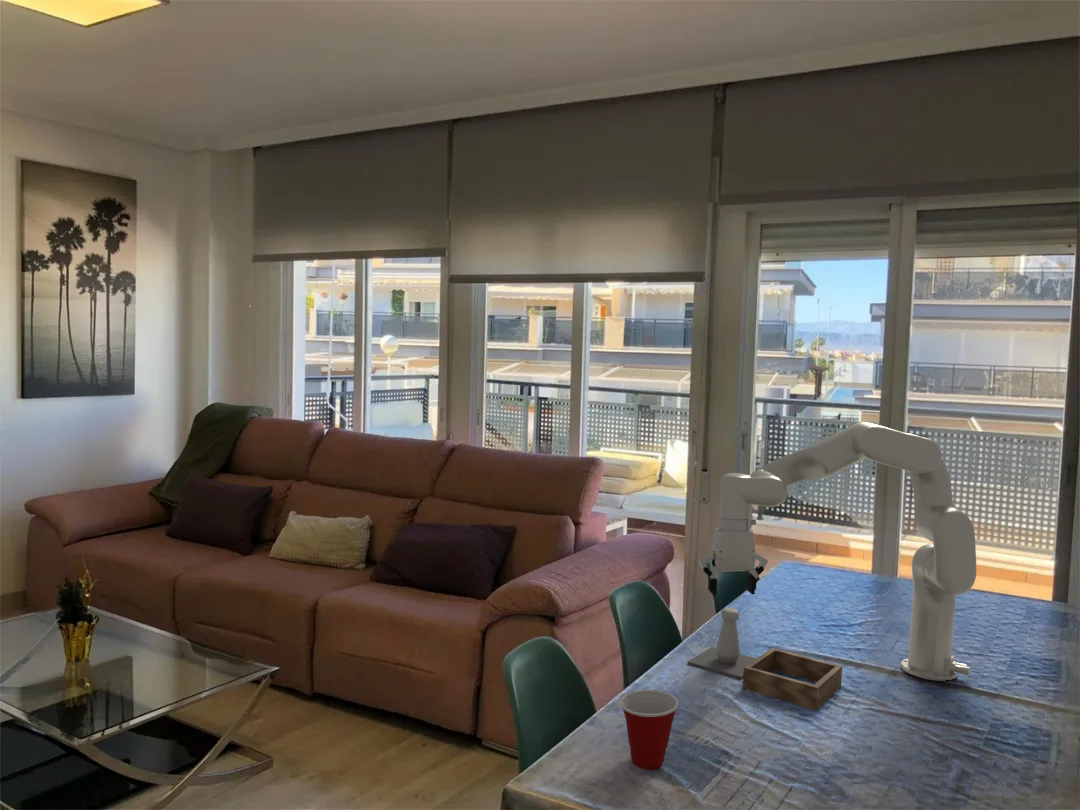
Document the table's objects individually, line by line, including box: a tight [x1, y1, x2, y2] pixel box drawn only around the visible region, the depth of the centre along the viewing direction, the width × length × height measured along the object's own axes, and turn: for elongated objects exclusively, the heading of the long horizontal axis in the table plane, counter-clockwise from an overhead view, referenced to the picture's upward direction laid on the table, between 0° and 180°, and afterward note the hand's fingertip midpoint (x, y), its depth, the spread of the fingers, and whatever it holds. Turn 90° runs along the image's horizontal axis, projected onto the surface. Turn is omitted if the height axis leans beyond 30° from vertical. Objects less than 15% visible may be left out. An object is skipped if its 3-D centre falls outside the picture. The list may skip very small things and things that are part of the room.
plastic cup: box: [619, 689, 679, 771], centre depth 158 cm, size 11×11×12 cm
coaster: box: [687, 646, 758, 680], centre depth 210 cm, size 14×14×1 cm
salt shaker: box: [716, 607, 741, 664], centre depth 210 cm, size 6×6×13 cm
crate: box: [741, 647, 843, 711], centre depth 197 cm, size 17×17×5 cm
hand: (732, 593), depth 209 cm, fingers open, 9 cm apart
